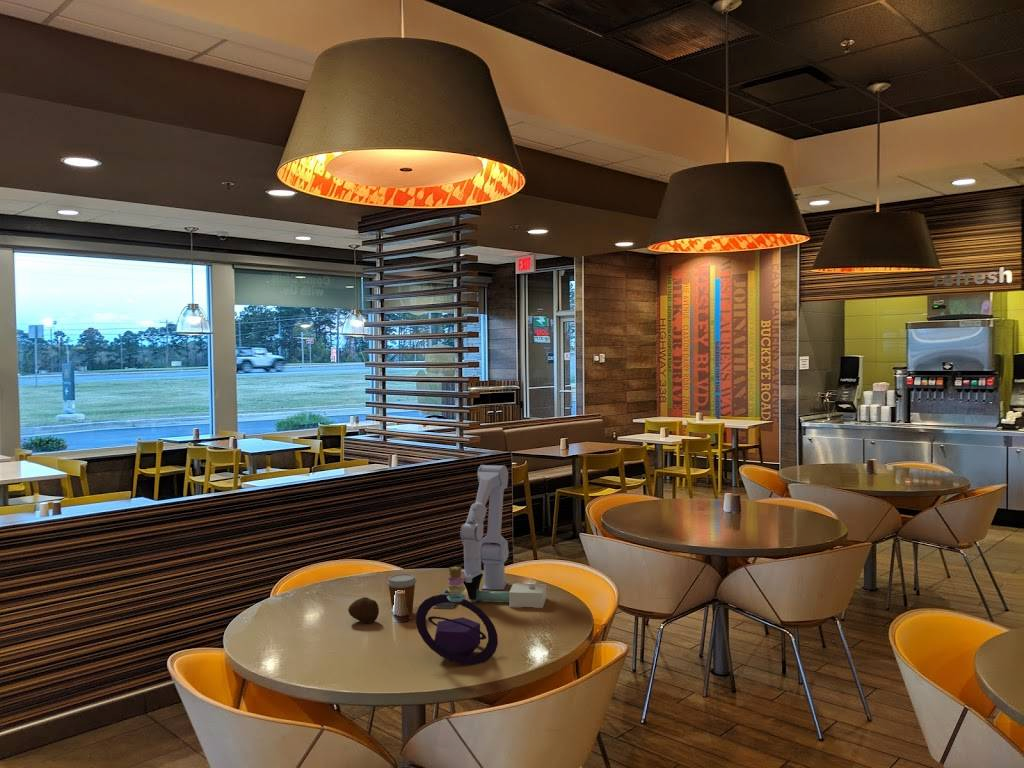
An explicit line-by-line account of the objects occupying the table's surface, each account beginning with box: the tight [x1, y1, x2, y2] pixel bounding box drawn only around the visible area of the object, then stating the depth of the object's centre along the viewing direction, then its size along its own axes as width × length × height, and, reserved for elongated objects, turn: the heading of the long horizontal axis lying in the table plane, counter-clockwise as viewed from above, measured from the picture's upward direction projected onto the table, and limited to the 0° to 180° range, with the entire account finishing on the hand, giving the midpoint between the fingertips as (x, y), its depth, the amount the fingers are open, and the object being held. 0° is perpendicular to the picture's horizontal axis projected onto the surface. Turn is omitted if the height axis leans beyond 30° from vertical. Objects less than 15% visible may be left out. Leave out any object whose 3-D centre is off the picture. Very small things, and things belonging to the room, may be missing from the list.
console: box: [432, 588, 461, 610], centre depth 272 cm, size 15×7×2 cm, turn 171°
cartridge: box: [470, 588, 509, 603], centre depth 270 cm, size 3×15×4 cm, turn 81°
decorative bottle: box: [415, 566, 499, 666], centre depth 223 cm, size 22×21×25 cm
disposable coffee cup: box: [386, 573, 417, 616], centre depth 260 cm, size 10×10×12 cm
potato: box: [347, 596, 380, 624], centre depth 253 cm, size 7×10×8 cm
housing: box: [508, 582, 547, 609], centre depth 268 cm, size 10×11×6 cm
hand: (473, 597), depth 271 cm, fingers closed on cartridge, 3 cm apart
